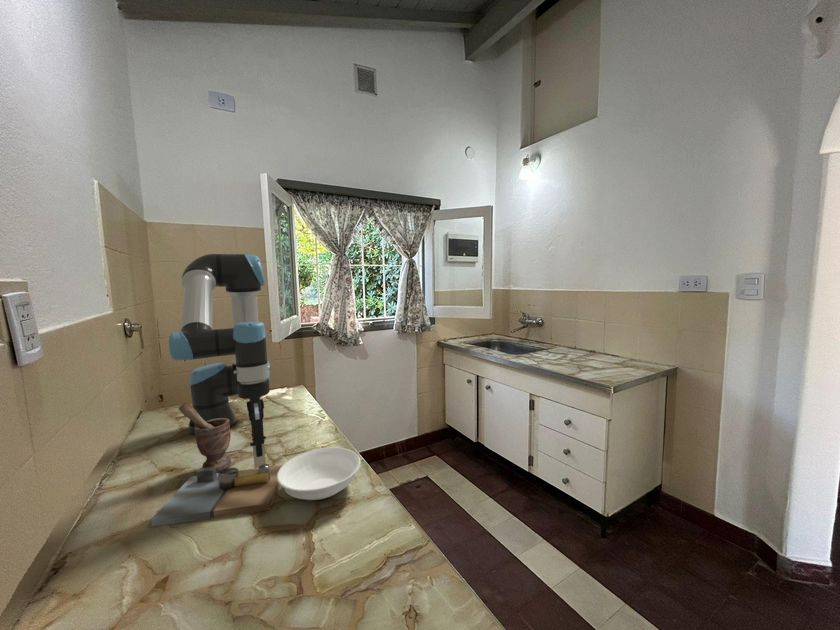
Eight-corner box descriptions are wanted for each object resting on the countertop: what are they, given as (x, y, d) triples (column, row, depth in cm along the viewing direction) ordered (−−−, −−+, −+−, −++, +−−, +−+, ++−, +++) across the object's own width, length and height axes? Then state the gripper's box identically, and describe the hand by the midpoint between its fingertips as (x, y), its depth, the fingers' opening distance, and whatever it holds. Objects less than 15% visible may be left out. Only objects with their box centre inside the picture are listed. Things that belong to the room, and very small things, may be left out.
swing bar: (215, 490, 81) (214, 476, 81) (223, 480, 85) (222, 467, 85) (267, 483, 83) (266, 470, 83) (272, 474, 87) (271, 461, 87)
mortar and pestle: (186, 483, 88) (178, 410, 86) (184, 470, 95) (177, 402, 93) (235, 468, 95) (229, 400, 93) (230, 456, 102) (225, 393, 100)
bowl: (317, 530, 69) (315, 501, 68) (260, 500, 80) (258, 475, 79) (377, 481, 86) (376, 457, 85) (324, 462, 96) (323, 441, 96)
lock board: (191, 482, 89) (190, 465, 88) (286, 470, 93) (284, 454, 92) (151, 526, 72) (149, 506, 71) (269, 510, 76) (267, 490, 76)
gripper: (236, 377, 92) (243, 459, 93) (237, 388, 80) (245, 482, 82) (266, 373, 95) (272, 452, 97) (271, 383, 84) (278, 472, 86)
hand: (260, 465), depth 90 cm, fingers closed
